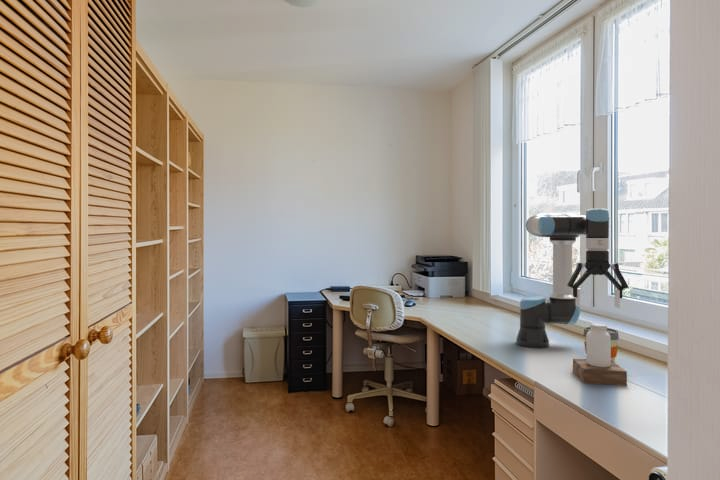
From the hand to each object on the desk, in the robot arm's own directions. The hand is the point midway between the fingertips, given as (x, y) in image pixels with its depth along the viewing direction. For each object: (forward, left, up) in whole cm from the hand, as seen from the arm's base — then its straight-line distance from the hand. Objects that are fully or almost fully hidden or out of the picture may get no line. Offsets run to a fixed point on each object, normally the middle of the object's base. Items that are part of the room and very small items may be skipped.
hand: (597, 306), depth 161 cm
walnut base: (0, 0, -27) cm, 27 cm away
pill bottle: (0, 0, -22) cm, 22 cm away
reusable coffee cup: (-16, +6, -27) cm, 32 cm away
